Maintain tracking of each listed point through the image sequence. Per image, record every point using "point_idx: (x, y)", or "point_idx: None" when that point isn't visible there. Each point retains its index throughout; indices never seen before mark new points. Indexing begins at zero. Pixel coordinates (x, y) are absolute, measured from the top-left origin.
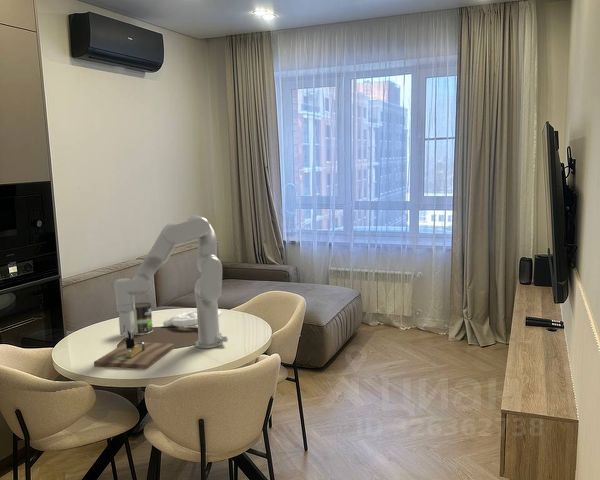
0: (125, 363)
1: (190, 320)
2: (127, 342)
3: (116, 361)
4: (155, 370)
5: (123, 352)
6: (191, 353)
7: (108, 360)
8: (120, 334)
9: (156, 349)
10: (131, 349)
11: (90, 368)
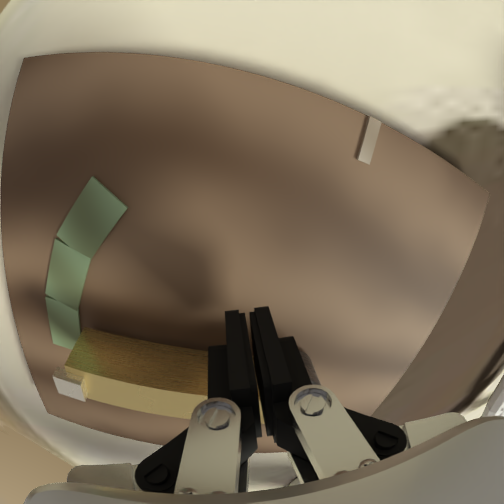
0: (17, 328)
1: (502, 400)
2: (208, 384)
3: (24, 256)
4: (60, 419)
5: (248, 239)
6: (250, 474)
7: (33, 173)
8: (34, 489)
9: None
10: (110, 394)
11: (20, 62)
